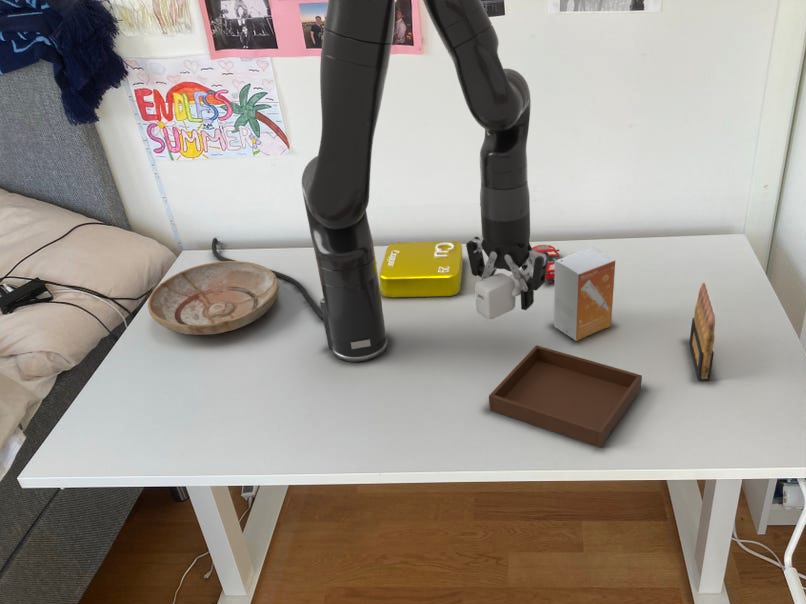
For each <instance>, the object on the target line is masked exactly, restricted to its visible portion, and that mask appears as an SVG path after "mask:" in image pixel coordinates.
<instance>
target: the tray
mask: <svg viewBox="0 0 806 604" xmlns="http://www.w3.org/2000/svg"><path fill="white" fill-rule="evenodd" d="M642 381H643V375H642V374H639V373H635V372H632V371H628V370H625V369H621V368H618V367H614V366H611V365H607V364H603V363H600V362H597V361H593V360H589V359H586V358H582V357H579V356H576V355H572V354H569V353H565V352H562V351H558V350H555V349H552V348H547V347H545V346H541V345H535V346H534V347H532V349H531V350H530V351H529V352H528V353H526V355H525V356H524V357H523V359H522V360H521V361H520V362H519V363H518V364H516V366H515V367H514V368H513V369H512V370H511V371H510V372H509V374H507V376H506V377H505V378H504V379H503V380H502V381H501V382H500V383H499V384H498V385H497V386H496V387H495V388H494V390H493V391H491V393H490V394H489V395H488V402H489V403H488V405H489V406H488V408H489V411H491V412H494V413H496V414H500V415H503V416H505V417H509V418H510V419H513V420H514V419H515V420H518V421H520V422H523V423H526V424H529V425H532V426H535V427H537V428H540V429H544V430H547V431H550V432H552V433H556V434H559V435H562V436H565V437H568V438H571V439H574V440H576V441H579V442H582V443H586V444H589V445H592V446H594V447H597V448H599V449H600V448H601V449H602V446H603V445H604V444H605V442H606V441H607V440H608V438H609V437H610V435H611V433H613V430H614V429H615V428H616V427H617V425H618V424H619V422H620V421H621V419H622V418H623V416H624V415H625V414H626V413H627V410H628V409H629V408H630V406H631V405H632V403H633V402H635V401H634V400H636V398H637V396H638V395H639V393H640V392H641V390H642Z"/></svg>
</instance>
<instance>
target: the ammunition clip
mask: <svg viewBox="0 0 806 604" xmlns="http://www.w3.org/2000/svg"><path fill="white" fill-rule="evenodd" d="M715 327H716V317H715V312H714V309H713V306H712V302H711V300H710V296H709V292H708V289H707V285H706V283H705V282H702V284H701V285H700V288H699V290H698V295H697V300H696V304H695V306H694V314H693V317H692V320H691V327H690V333H689V342H688V344H689V349H690V354H691V358H692V362H693V366H694V370H695V374H696V378H697V381H698V382H699V381H701V382H702V381H703V382H706V381H707V382H710V381H711V378H712V377H711V376H712V369H713V362H714V355H715V352H714V345H715V337H716V336H715V330H716V329H715Z"/></svg>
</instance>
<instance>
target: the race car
mask: <svg viewBox="0 0 806 604" xmlns="http://www.w3.org/2000/svg"><path fill="white" fill-rule="evenodd" d="M532 250H533V251H536V252H538V253H542V252H543V251H546V252H547V253H548V254H549V258H548V264H547V271H546V277H545V282H546V283H548V282H549V283H550V282H551V283H552V282H555V261H556V260H558V259H561V256H560V254H559V252H560V249H559V248H557V249H556V248H555V247H554V246H553V245H550V244H538V245H535V246H533V247H532ZM529 260H530V261H531V259H530V258H529Z"/></svg>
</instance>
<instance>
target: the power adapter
mask: <svg viewBox="0 0 806 604" xmlns="http://www.w3.org/2000/svg"><path fill="white" fill-rule="evenodd" d="M521 290H522V289H521V286H520V284H519V282H518V280H516V279H515V278H514V276H513V274H511V275H507V274H505V273H503V272H498V273H495V274H494V275H493V276H490V277H488V278H486V279H483V280H482V279H481V280H479V281H477V282H476V283H475V286H474V293H475V295H474V297H475V306H476V307H475V308H476V311H477V313H478V314H479V315H481V316H482V317H484V318H485V319H487V320H494V319H496V318H498V317H501V316H503V315H505V314H508V313H509V312H511V311H513V310H514V309H515V307H516V297H518V296H521Z"/></svg>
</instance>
